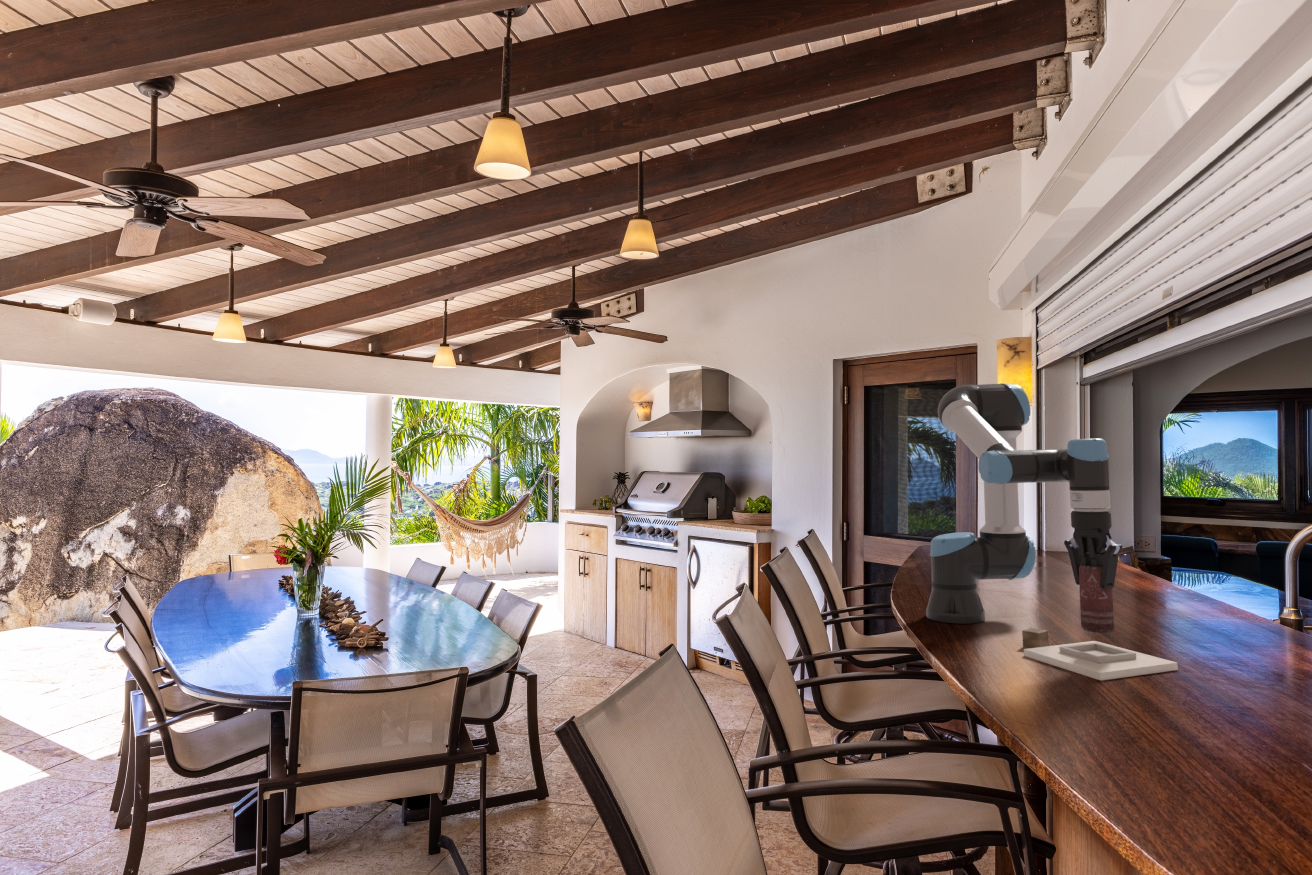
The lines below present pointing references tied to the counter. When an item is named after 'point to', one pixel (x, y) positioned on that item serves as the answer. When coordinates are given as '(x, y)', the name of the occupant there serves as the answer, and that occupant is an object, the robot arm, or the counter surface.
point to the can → (1095, 601)
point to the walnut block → (1035, 638)
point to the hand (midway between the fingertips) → (1096, 620)
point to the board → (1100, 660)
